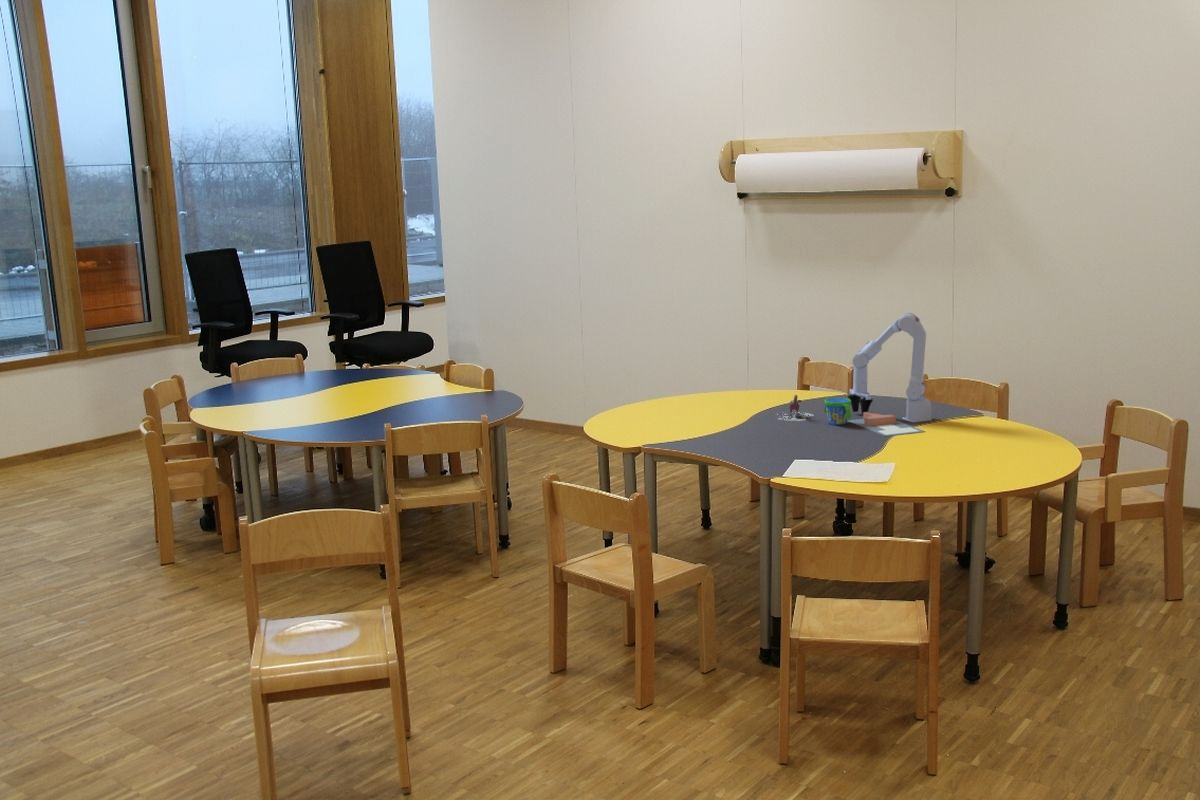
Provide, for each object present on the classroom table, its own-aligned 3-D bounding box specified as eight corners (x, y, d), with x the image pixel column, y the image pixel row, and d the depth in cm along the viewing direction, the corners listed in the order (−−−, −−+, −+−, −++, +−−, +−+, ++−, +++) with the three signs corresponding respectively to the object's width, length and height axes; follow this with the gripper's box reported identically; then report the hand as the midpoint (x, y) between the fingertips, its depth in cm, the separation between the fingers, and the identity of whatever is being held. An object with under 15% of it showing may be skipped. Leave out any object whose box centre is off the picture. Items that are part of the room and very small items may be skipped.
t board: (885, 417, 474) (885, 416, 474) (925, 432, 446) (925, 431, 446) (846, 421, 469) (846, 420, 469) (885, 436, 441) (885, 435, 441)
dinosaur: (818, 421, 473) (819, 395, 470) (775, 422, 473) (775, 396, 471) (811, 411, 490) (812, 387, 488) (770, 413, 491) (770, 388, 489)
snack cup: (858, 426, 459) (858, 402, 457) (835, 429, 456) (835, 404, 454) (839, 419, 474) (839, 395, 471) (816, 421, 471) (817, 397, 468)
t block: (880, 417, 472) (880, 410, 472) (895, 423, 461) (895, 416, 460) (854, 420, 469) (854, 413, 468) (869, 426, 458) (869, 419, 457)
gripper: (843, 379, 479) (842, 411, 482) (860, 385, 466) (860, 417, 468) (858, 378, 481) (857, 409, 484) (875, 384, 468) (875, 416, 470)
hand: (859, 413), depth 476 cm, fingers open, 7 cm apart
